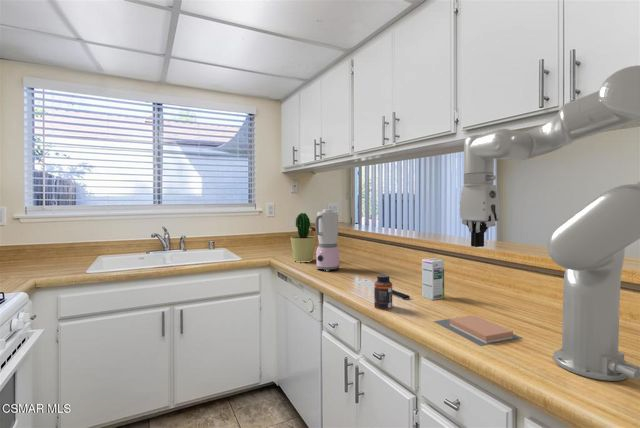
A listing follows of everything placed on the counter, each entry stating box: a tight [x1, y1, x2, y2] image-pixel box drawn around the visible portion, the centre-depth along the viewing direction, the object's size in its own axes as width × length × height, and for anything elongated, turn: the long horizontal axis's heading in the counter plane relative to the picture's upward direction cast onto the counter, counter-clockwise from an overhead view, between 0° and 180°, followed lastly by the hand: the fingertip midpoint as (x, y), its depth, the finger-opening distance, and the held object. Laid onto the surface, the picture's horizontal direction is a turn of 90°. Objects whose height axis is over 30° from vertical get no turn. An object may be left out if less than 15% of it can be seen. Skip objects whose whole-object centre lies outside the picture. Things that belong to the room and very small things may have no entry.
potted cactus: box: [290, 212, 317, 261], centre depth 203 cm, size 15×15×30 cm
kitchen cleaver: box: [353, 278, 411, 301], centre depth 136 cm, size 31×2×10 cm
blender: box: [315, 209, 340, 272], centre depth 177 cm, size 16×12×32 cm
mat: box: [433, 318, 523, 347], centre depth 93 cm, size 18×14×1 cm
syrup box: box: [421, 257, 445, 301], centre depth 125 cm, size 6×6×14 cm
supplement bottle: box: [373, 273, 393, 311], centre depth 113 cm, size 6×6×11 cm
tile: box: [449, 314, 514, 343], centre depth 91 cm, size 2×9×13 cm
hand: (477, 246), depth 93 cm, fingers closed
